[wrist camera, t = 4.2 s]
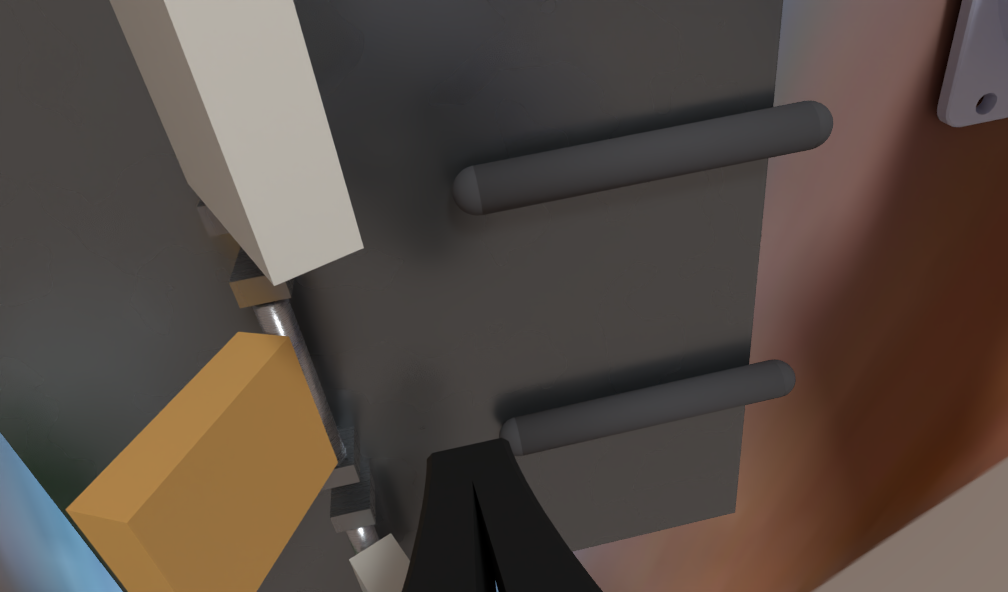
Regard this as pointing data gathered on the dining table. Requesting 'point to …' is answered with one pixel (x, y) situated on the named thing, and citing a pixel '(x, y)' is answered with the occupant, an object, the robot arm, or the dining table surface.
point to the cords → (624, 167)
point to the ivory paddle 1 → (247, 125)
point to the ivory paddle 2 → (381, 566)
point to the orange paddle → (213, 476)
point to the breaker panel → (395, 257)
